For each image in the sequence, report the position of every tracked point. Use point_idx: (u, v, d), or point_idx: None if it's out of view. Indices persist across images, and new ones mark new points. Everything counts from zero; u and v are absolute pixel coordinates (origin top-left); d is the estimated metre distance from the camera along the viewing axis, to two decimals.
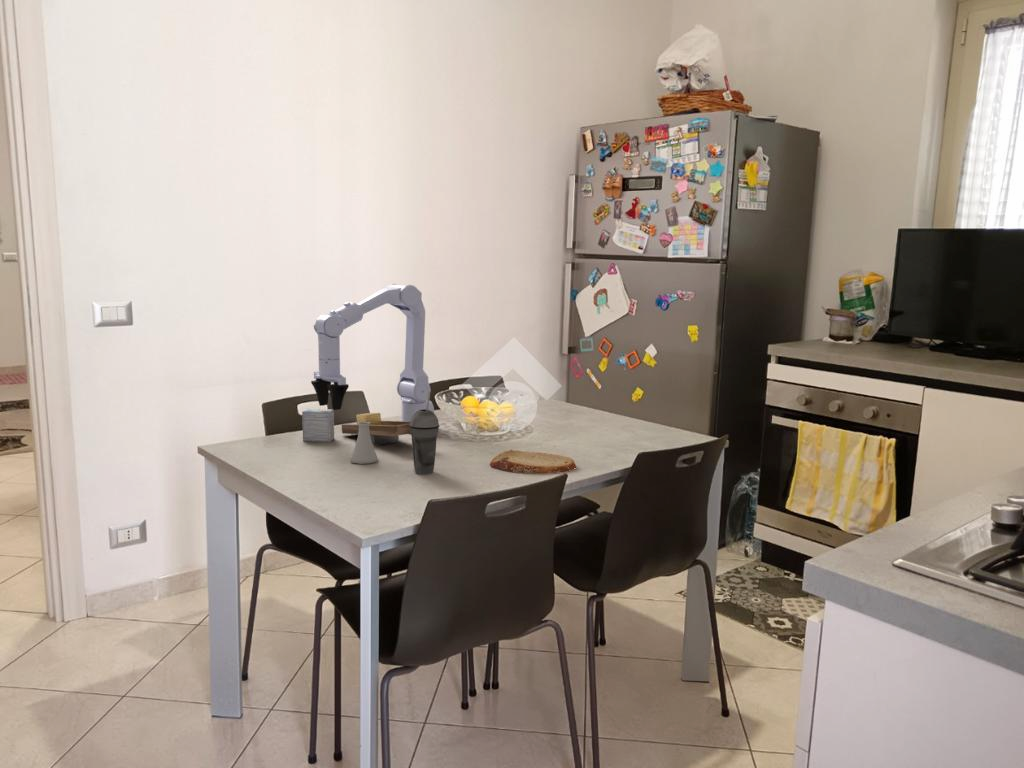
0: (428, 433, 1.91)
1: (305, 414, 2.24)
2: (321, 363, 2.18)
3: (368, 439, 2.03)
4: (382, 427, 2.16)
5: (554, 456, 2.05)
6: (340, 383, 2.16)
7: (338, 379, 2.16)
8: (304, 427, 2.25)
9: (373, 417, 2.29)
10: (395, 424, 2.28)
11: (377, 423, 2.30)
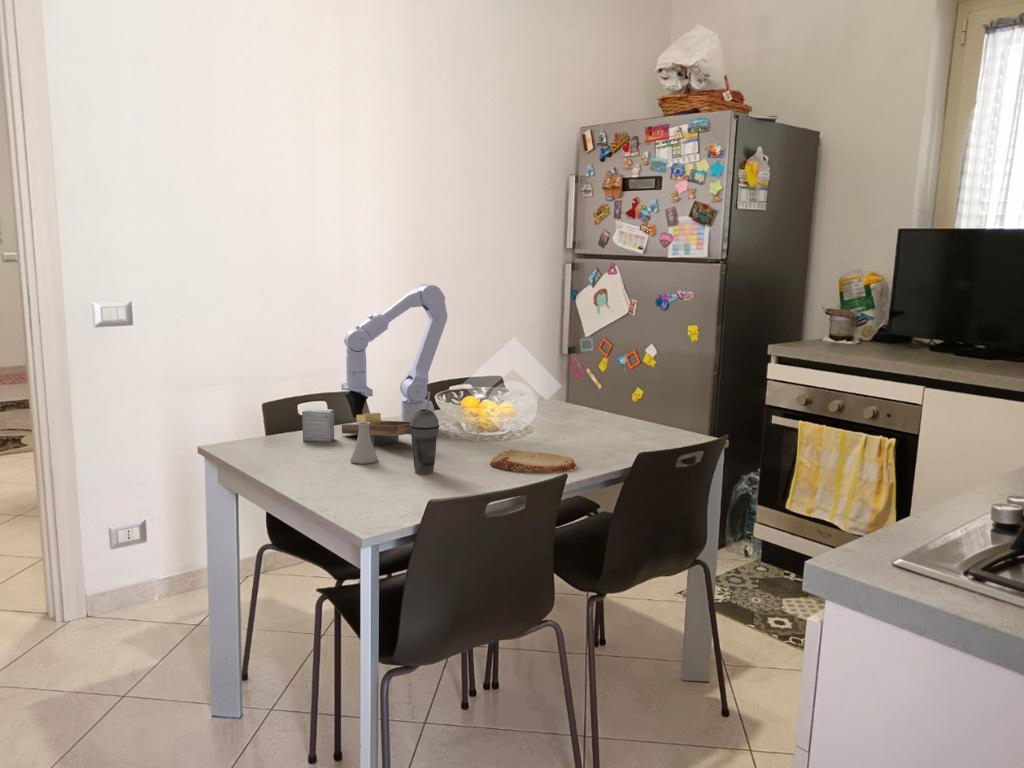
0: (428, 433, 1.91)
1: (305, 414, 2.24)
2: (349, 375, 2.32)
3: (368, 439, 2.03)
4: (382, 427, 2.16)
5: (555, 455, 2.06)
6: (367, 395, 2.29)
7: (365, 391, 2.29)
8: (304, 427, 2.25)
9: (373, 417, 2.29)
10: (395, 424, 2.28)
11: (377, 423, 2.30)
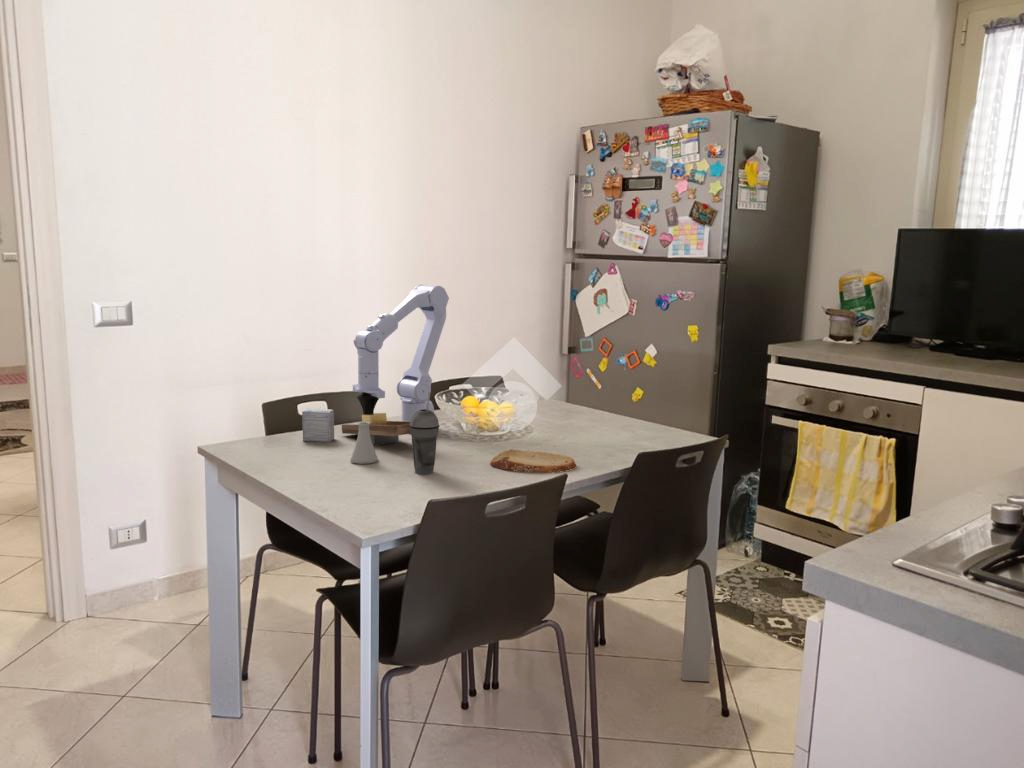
0: (428, 433, 1.91)
1: (305, 414, 2.24)
2: (361, 376, 2.27)
3: (368, 439, 2.03)
4: (382, 427, 2.16)
5: (555, 455, 2.06)
6: (379, 396, 2.24)
7: (377, 392, 2.24)
8: (304, 427, 2.25)
9: (379, 417, 2.27)
10: (395, 424, 2.28)
11: (382, 423, 2.27)
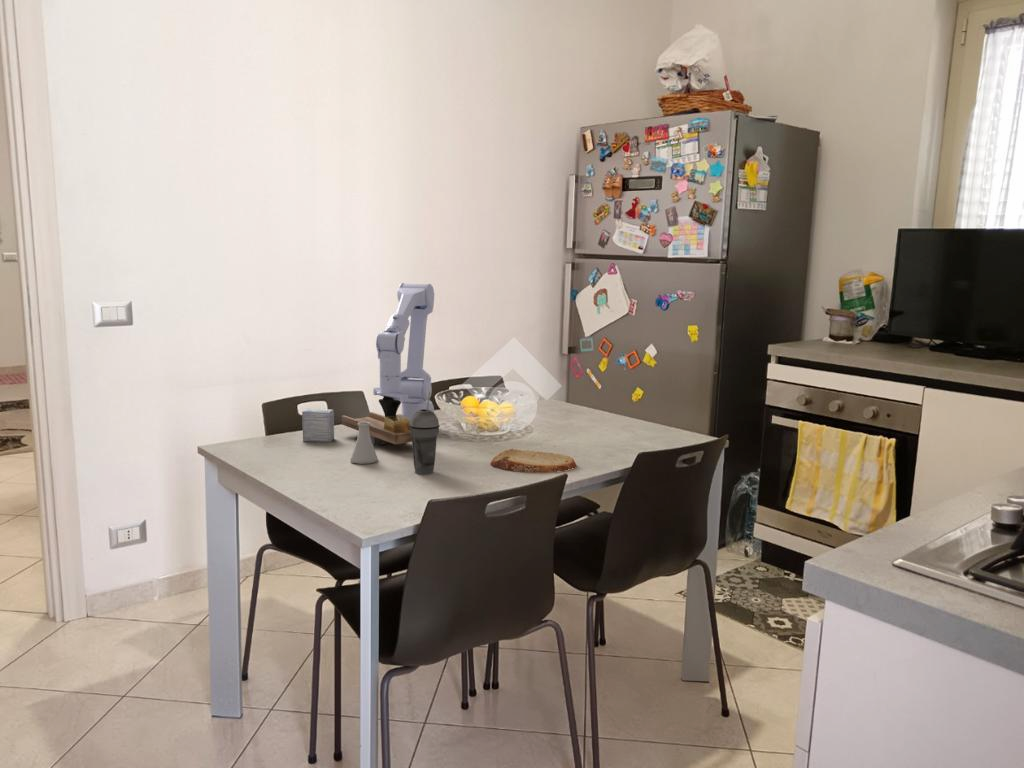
0: (428, 433, 1.91)
1: (305, 414, 2.24)
2: (383, 380, 2.18)
3: (368, 439, 2.03)
4: (383, 432, 2.16)
5: (555, 455, 2.06)
6: (402, 400, 2.15)
7: (400, 396, 2.15)
8: (304, 427, 2.25)
9: (402, 423, 2.18)
10: None
11: (405, 429, 2.19)
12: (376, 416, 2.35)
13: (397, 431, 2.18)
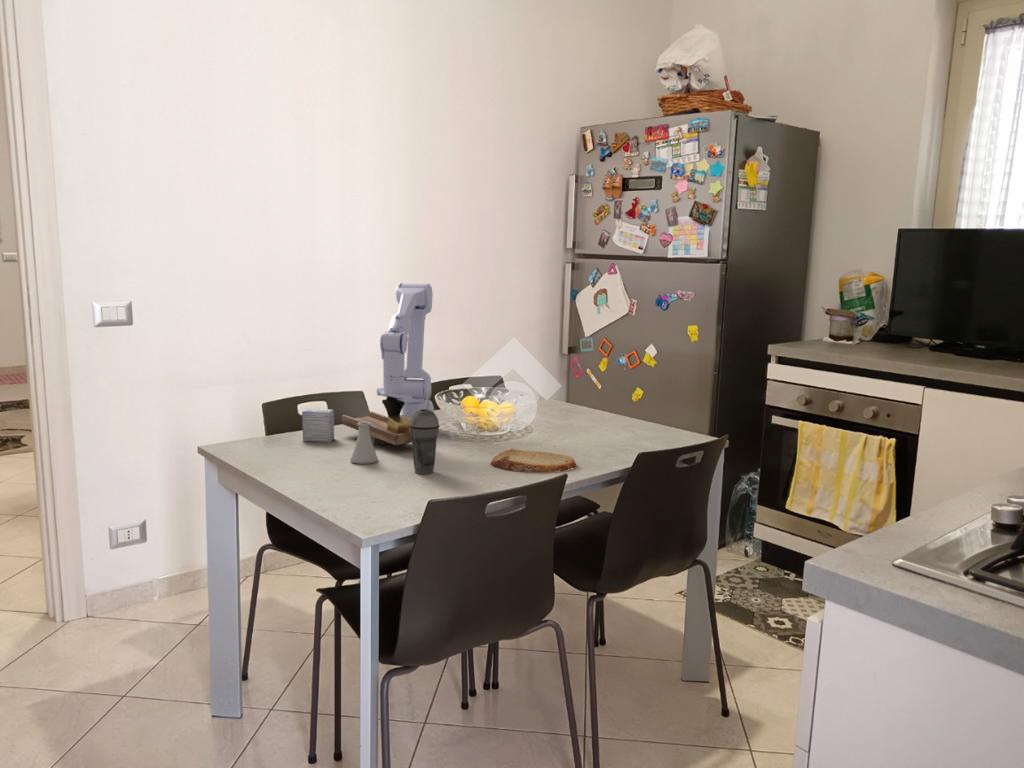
0: (428, 433, 1.91)
1: (305, 414, 2.24)
2: (387, 380, 2.17)
3: (368, 439, 2.03)
4: (383, 432, 2.16)
5: (555, 455, 2.06)
6: (406, 401, 2.14)
7: (404, 397, 2.14)
8: (304, 427, 2.25)
9: (406, 425, 2.17)
10: None
11: (408, 431, 2.18)
12: (376, 416, 2.35)
13: (400, 433, 2.17)
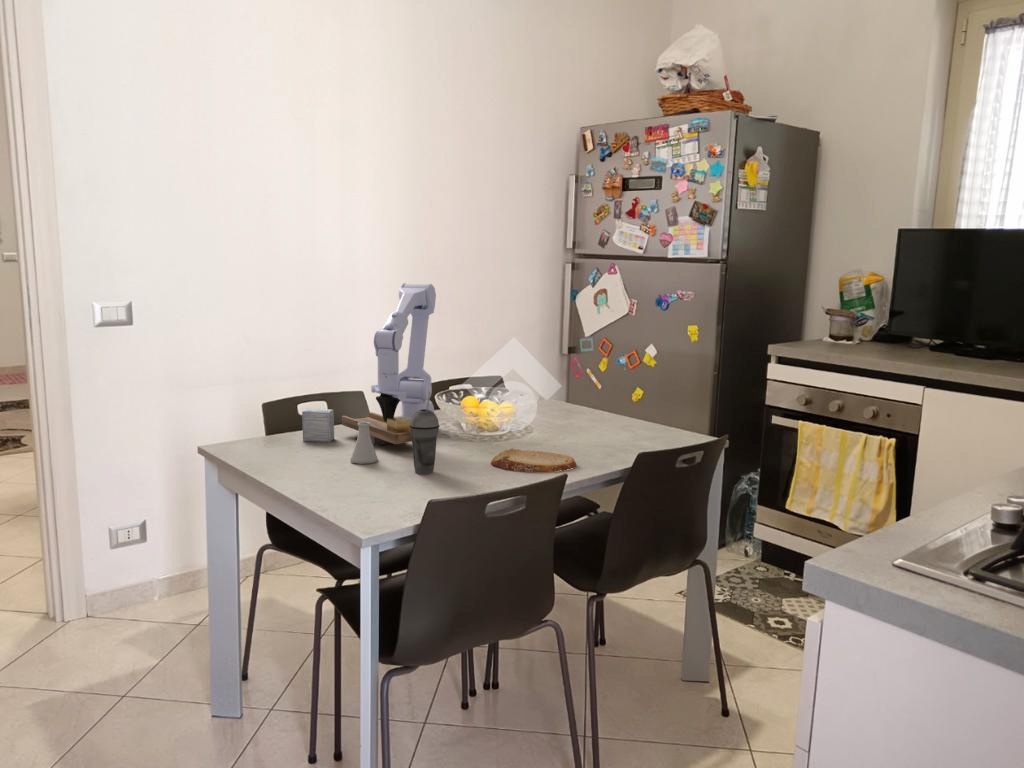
0: (428, 433, 1.91)
1: (305, 414, 2.24)
2: (381, 377, 2.19)
3: (368, 439, 2.03)
4: (383, 432, 2.16)
5: (555, 454, 2.06)
6: (400, 398, 2.16)
7: (398, 394, 2.16)
8: (304, 427, 2.25)
9: (405, 424, 2.17)
10: None
11: (408, 430, 2.18)
12: (376, 416, 2.35)
13: (400, 432, 2.17)
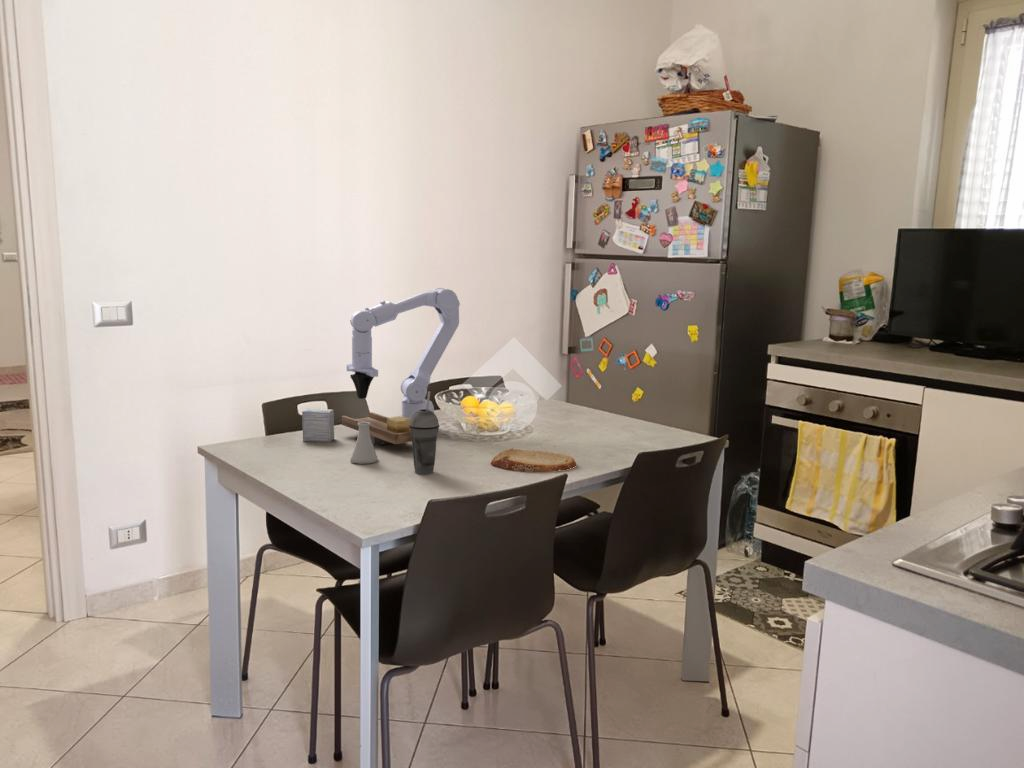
0: (428, 433, 1.91)
1: (305, 414, 2.24)
2: (355, 356, 2.32)
3: (368, 439, 2.03)
4: (383, 432, 2.16)
5: (555, 454, 2.07)
6: (373, 375, 2.29)
7: (371, 371, 2.29)
8: (304, 427, 2.25)
9: (405, 424, 2.17)
10: None
11: (408, 430, 2.18)
12: (376, 416, 2.35)
13: (400, 432, 2.17)
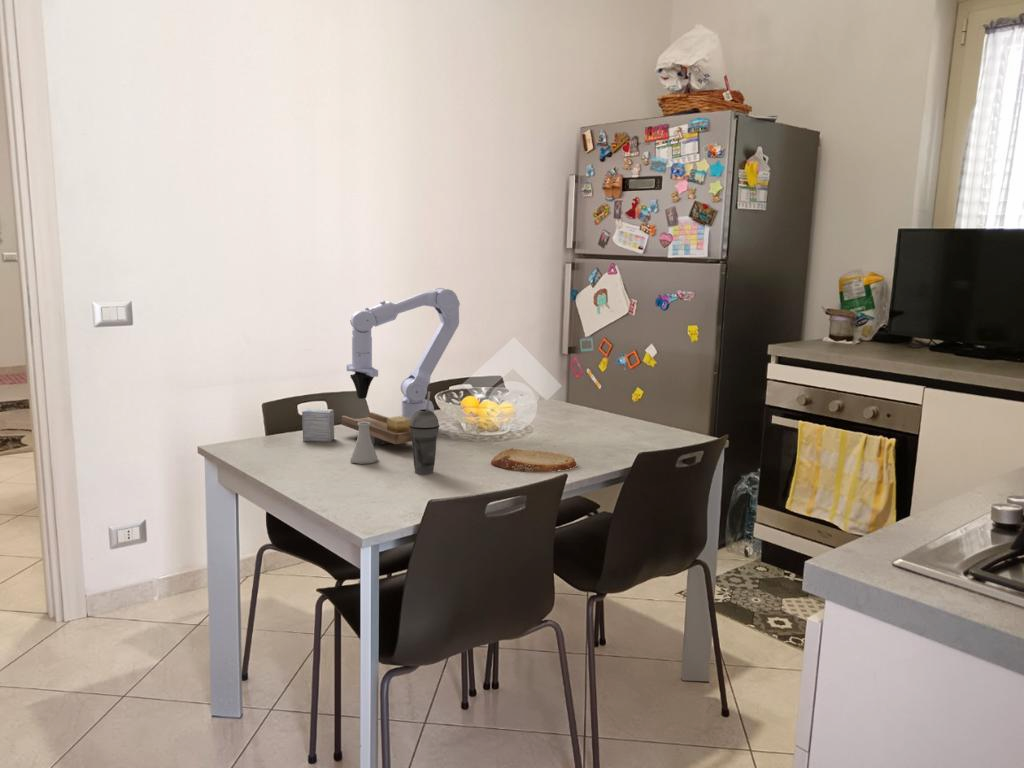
0: (428, 433, 1.91)
1: (305, 414, 2.24)
2: (355, 356, 2.32)
3: (368, 439, 2.03)
4: (383, 432, 2.16)
5: (555, 454, 2.07)
6: (373, 375, 2.29)
7: (371, 371, 2.29)
8: (304, 427, 2.25)
9: (405, 424, 2.17)
10: None
11: (408, 430, 2.18)
12: (376, 416, 2.35)
13: (400, 432, 2.17)
